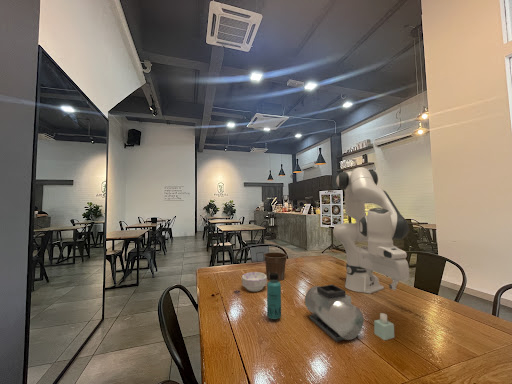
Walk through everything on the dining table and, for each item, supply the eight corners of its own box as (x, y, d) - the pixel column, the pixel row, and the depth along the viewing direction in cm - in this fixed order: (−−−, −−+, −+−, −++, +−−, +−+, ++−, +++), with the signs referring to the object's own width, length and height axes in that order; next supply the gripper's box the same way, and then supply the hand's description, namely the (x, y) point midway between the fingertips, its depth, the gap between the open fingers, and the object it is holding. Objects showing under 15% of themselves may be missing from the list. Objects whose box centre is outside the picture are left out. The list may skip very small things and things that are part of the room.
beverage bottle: (266, 315, 102) (265, 271, 103) (280, 315, 102) (279, 271, 103) (268, 323, 95) (267, 276, 96) (283, 322, 96) (282, 275, 97)
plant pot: (291, 276, 156) (290, 253, 157) (281, 283, 142) (280, 258, 143) (271, 273, 165) (270, 251, 165) (259, 279, 151) (259, 255, 152)
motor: (322, 308, 108) (321, 276, 109) (364, 338, 84) (362, 296, 84) (300, 312, 104) (300, 279, 105) (337, 345, 80) (336, 301, 81)
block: (384, 331, 88) (383, 310, 89) (394, 337, 84) (393, 316, 85) (374, 333, 87) (373, 312, 87) (384, 340, 83) (383, 318, 83)
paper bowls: (253, 296, 124) (252, 281, 124) (237, 288, 135) (236, 275, 136) (272, 289, 134) (271, 275, 134) (255, 282, 145) (255, 270, 146)
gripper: (354, 245, 96) (355, 277, 95) (398, 255, 77) (400, 296, 76) (365, 244, 98) (367, 276, 97) (411, 253, 79) (413, 293, 78)
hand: (382, 285), depth 87 cm, fingers open, 8 cm apart
